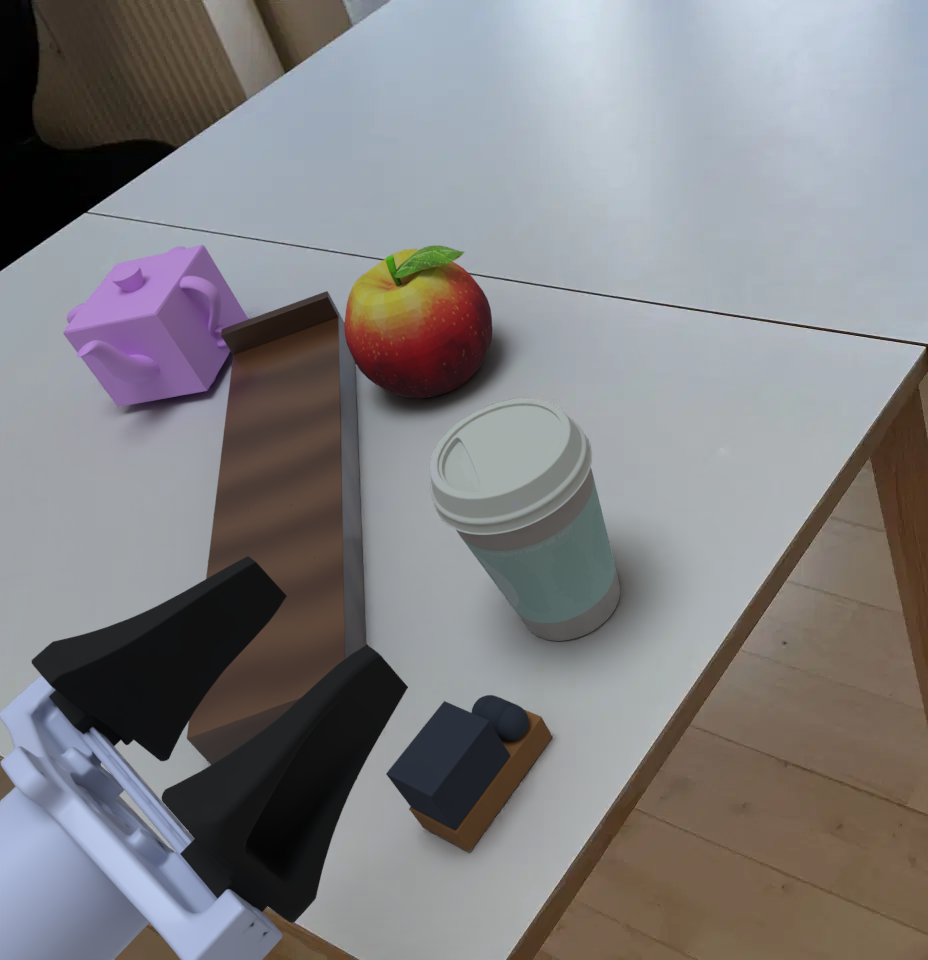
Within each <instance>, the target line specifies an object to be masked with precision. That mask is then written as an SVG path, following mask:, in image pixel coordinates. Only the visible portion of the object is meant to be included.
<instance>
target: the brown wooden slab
mask: <svg viewBox="0 0 928 960" xmlns="http://www.w3.org/2000/svg"><path fill="white" fill-rule="evenodd" d="M344 323H345V320H344V319H343V317H342V316H341V313H340V312H339V310H338V308H337V305H336V304H335V301H334V300H333V298H332V296H331V294H330V293H329V291H327V290H326V291H323V292H320V293H318V294H315V295H312V296H309V297H306V298H304V299H301V300H298V301H296V302H293V303H290V304H287V305H285V306H282V307H279V308H276V309H274V310H271V311H268V312H265V313H262V314H259V315H257V316H254V317H252V318H248V320H246V321H243V322H240V323H237V324H235V325H232V326H229V327H226V328H223V329H222V330H221V337H222V338H223V340H224V341H225V343H226V345H227V346H228V348H229V349H230V353H231V354H232V363H231V370H230V378H229V387H228V394H227V395H228V396H227V404H226V410H225V411H226V413H225V421H224V429H223V436H222V443H221V444H222V447H221V452H220V453H221V454H220V460H219V461H220V462H219V469H218V476H217V477H218V478H217V487H216V494H215V502H214V511H213V518H212V520H213V521H212V526H211V534H210V544H209V552H208V559H207V560H208V561H207V567H206V576H205V579H207V578H209V577H211V576H212V575H214V574H216V573H218V572H219V571H221V570H223V569H225V568H227V567H228V566H230V565H232V564H234V563H236V562H237V561H239V560H241V559H243V558H245V557H247V556H249V557H250V558H251V559H253V560H254V561H255V562H257V564H258V565H259V566H260V567H261V568H262V569H263V570H264V571H265V572H266V573H267V575H268V576H269V577H270V578H271V579H272V580H273V581H274V582H275V583H276V585H277V586H278V587H279V588H280V589H281V590H282V591H283V592H284V593H285V594H286V596H287V597H286V598H285V600H284V601H283V603H282V604H281V606H280V607H279V609H278V610H277V612H276V613H275V614H274V616H273V617H272V618H271V620H270V621H269V622H268V623H267V625H266V626H265V627H264V628H263V629H262V630H261V631H260V632H259V633H258V635H257V636H256V637H255V638H254V639H253V640H252V641H251V642H250V643H249V644H248V645H247V646H246V647H245V649H244V650H243V651H242V652H241V653H240V654H239V655H238V656H237V657H236V658H235V659H234V660H233V661H232V663H231V664H230V665H229V666H228V667H227V668H226V669H225V670H224V672H223V673H222V674H221V675H220V676H219V678H218V679H217V680H216V682H215V683H214V684H213V686H212V687H211V688H210V690H209V691H208V692H207V694H206V695H205V697H204V698H203V700H202V701H201V702H200V704H199V705H198V707H197V708H196V710H195V711H194V713H193V715H192V716H191V718H190V720H189V721H188V723H187V733H186V740H187V741H188V742H189V744H191V745H192V746H193V747H194V748H195V750H196V751H197V752H198V753H199V754H200V755H201V756H202V757H203V758H204V759H205V761H207V762H208V764H209V765H212V764H214V763H215V762H217V761H219V760H220V759H222V758H224V757H225V756H227V755H229V754H230V753H232V752H233V751H234V750H236V749H237V748H239V747H240V746H242V745H243V744H245V743H246V742H248V741H249V740H251V739H252V738H253V737H255V736H256V735H257V734H259V733H260V732H261V731H263V730H264V729H265V728H267V727H268V726H269V725H271V724H272V723H273V722H275V721H276V720H277V719H278V718H279V717H280V716H282V715H283V714H284V713H285V712H286V711H287V710H288V709H289V708H291V707H292V706H293V705H294V704H295V703H296V702H297V701H298V700H299V699H300V698H301V697H302V696H304V695H305V694H306V693H307V692H308V691H309V690H310V689H311V688H312V687H313V686H314V685H315V684H316V683H318V682H319V681H320V680H321V679H322V678H323V677H324V676H325V675H326V674H328V673H329V672H330V671H331V670H332V669H333V668H334V667H335V666H337V665H338V664H339V663H340V662H342V661H343V660H344V659H346V658H347V657H349V656H350V655H351V654H353V653H354V652H356V651H358V650H359V649H361V648H362V647H364V646H365V645H367V639H366V613H365V588H364V587H365V584H364V564H363V563H364V562H363V561H364V560H363V537H362V536H363V535H362V534H363V533H362V510H361V508H362V507H361V506H362V505H361V486H360V485H361V484H360V483H361V482H360V458H359V457H360V456H359V455H360V454H359V432H358V431H359V430H358V405H357V404H358V403H357V382H356V363H355V361H354V359H353V357H352V355H351V353H350V350H349V348H348V346H347V343H346V338H345V330H344Z"/></svg>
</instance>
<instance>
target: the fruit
mask: <svg viewBox="0 0 928 960" xmlns="http://www.w3.org/2000/svg"><path fill="white" fill-rule="evenodd" d="M464 253H465V251H463V250H458V249H455V248H451V247H448V246H445V245H427V246H424V247H422V248H420V249H419V248H406V249H402V250H399V251H397V252H395V253H392V254H390V255H388V256H386V257H385V258H384V259H383V260H382V261H380V262H378V263H377V264H376V265H374V266H373V267H372V268H370V269H369V270H367V271H366V272H365V273H363V274H362V275H361V276H360V277H358V278H357V280H356V281H355V282H354V283H353V285H352V287H351V289H350V292H349V294H348V297H347V301H346V308H345V316H344V330H345V338H346V343H347V346H348V348H349V350H350V353H351V355H352V357H353V359H354V361H355V366H357V367H358V369H359V370H360V372H361V373H362V374H363V376H364V377H366V378H367V379H368V380H369V381H370V382H372V383H373V384H375V385H377V386H378V387H379V388H381V389H383V390H385V391H386V392H388V393H391V394H393V395H395V396H396V395H397V396H401V397H406V398H412V399H425V398H434V397H437V396H441V395H444V394H447V393H450V392H452V391H453V390H456V389H458V388H459V387H461V386H462V385H464V384H465V383H466V382H468V381H469V380H470V379H471V378H472V377H473V376H474V374H475V373H476V372H477V371H478V370H479V369H480V367H481V366H482V365H483V363H484V361H485V359H486V356H487V354H488V352H489V350H490V347H491V343H492V339H493V316H492V309H491V306H490V305H491V304H490V302H489V299H488V297H487V296H486V294H485V292H484V290H483V289H482V288H481V286H480V285H479V284H478V283H477V281H476V279H474V277H473V276H472V275H471V274H470V272H468V271H467V270H466V269H465V268H464V267H462V266H461V265H459V264H457V263H456V262H454V261H456V260H458V259H459V258H461V256H463V255H464Z"/></svg>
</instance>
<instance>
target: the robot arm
mask: <svg viewBox="0 0 928 960" xmlns="http://www.w3.org/2000/svg"><path fill="white" fill-rule="evenodd" d="M286 597H287V596H286V594H285V593H284V592H283V591H282V590H281V589H280V588H279V587H278V586H277V585H276V583H275V582H274V581H273V580H272V579H271V578H270V577H269V576H268V575H267V573H266V572H265V571H264V570H263V569H262V568H261V567H260V566H259V565H258V564H257V562H255V561H254V560H253V559H251V558H250V557H249V556H247V557H245V558H243V559H241V560H239V561H237V562H236V563H234V564H232V565H230V566H228V567H227V568H225V569H223V570H221V571H219V572H218V573H216V574H214V575H212V576H211V577H209V578H207V579H206V578H205V579H203V580H202V581H200V582H198V583H197V584H195V585H193V586H191V587H190V588H187V589H186V590H185V591H183V592H181V593H179V594H177V595H175V596H172V598H169V599H167V600H166V601H164V602H162V603H160V604H158V605H156V606H154V607H152V608H150V609H147V610H145V611H143V612H141V613H138V614H136V615H134V616H132V617H129V618H127V619H125V620H121V621H119V622H116V623H113V624H111V625H109V626H105V627H102V628H100V629H97V630H92V631H90V632H87V633H83V634H79V635H76V636H75V635H74V636H72V637H67V638H62V639H58V640H53V641H52V642H50V643H49V644H48V645H47V646H45V648H44V649H42V650H41V651H39V652H38V654H37V655H35V656H34V657H33V658H32V659H31V664H32V666H33V667H34V668H35V670H36V671H37V672H38V673H39V674H40V676H39V677H38V678H36V679H35V680H34V681H33V682H31V684H30V685H28V687H26V688H25V689H24V690H23V691H22V692H21V693H20V694H19V695H18V696H17V695H16V697H15V698H14V699H13V700H12V701H10V702H9V703H8V704H7V705H6V706H5V707H4V708H3V709H2V710H0V721H1V722H2V724H3V726H4V727H5V729H6V730H7V732H8V734H9V736H10V739H11V742H12V745H13V749H12V750H11V751H10V752H9V753H8V754H7V755H6V756H4V758H3V759H1V760H0V766H1V768H2V770H3V771H4V772H5V774H6V775H7V776H8V778H9V779H10V781H11V782H12V784H13V785H14V787H13V788H12V790H10V791H9V792H8V793H7V794H6V795H5V796H4V797H3V798H1V799H0V960H115V959H116V958H117V957H118V956H119V955H120V954H121V953H122V952H123V951H124V950H125V949H126V948H127V947H128V946H129V945H130V944H131V943H132V942H133V941H134V940H135V938H136V937H137V936H138V935H140V933H142V931H143V930H144V929H145V928H146V927H147V926H148V925H149V924H150V925H151V926H152V928H153V929H154V930H155V931H156V932H157V933H158V934H159V935H160V936H161V937H162V939H163V940H164V941H165V942H166V943H167V945H168V946H169V947H170V948H171V949H172V951H173V952H174V953H175V954H176V956H177V957H178V958H179V960H264V958H266V956H267V955H268V954H269V953H270V952H271V951H272V950H273V948H274V947H275V946H276V945H278V943H279V942H280V941H281V940H282V938H283V937H284V934H283V933H282V932H281V931H280V929H279V928H278V927H277V926H276V925H275V924H274V923H273V921H272V920H271V919H270V918H269V916H267V915H266V914H265V913H264V911H265V910H266V909H267V908H268V909H270V910H272V911H273V912H275V914H277V915H278V916H279V917H281V918H283V919H284V920H285V921H287V923H288V922H289V923H290V924H295V923H296V922H297V920H298V919H299V918H300V917H301V916H302V915H303V914H304V913H305V911H307V909H309V907H310V906H311V905H312V904H313V903H314V902H315V900H316V899H317V895H318V892H319V891H318V890H319V886H320V881H321V878H322V873H323V869H324V866H325V863H326V859H327V855H328V852H329V850H330V847H331V842H332V839H333V837H334V834H335V831H336V828H337V826H338V823H339V820H340V818H341V814H342V813H343V810H344V807H345V805H346V803H347V800H348V799H349V796H350V793H352V790H353V787H354V785H355V783H356V782H357V779H358V777H359V775H360V773H361V771H362V770H363V767H364V766H365V763H366V762H367V761H368V760H367V759H368V758H369V756H370V754H371V752H372V750H373V749H374V747H375V745H376V743H377V742H378V740H379V738H380V736H381V735H382V733H383V731H384V729H385V728H386V726H387V724H388V722H389V721H390V719H391V717H392V716H393V715H394V712H395V711H396V709H397V707H398V705H399V704H400V703H401V701H402V699H403V697H404V695H405V694H406V691H407V690H408V689H409V686H408V685H407V684H406V683H405V681H404V680H403V679H402V678H401V677H400V676H399V674H397V672H396V671H395V670H394V669H393V668H392V667H391V666H390V664H389V663H388V662H387V661H386V660H385V659H384V657H383V656H382V655H381V654H380V653H379V652H378V651H376V650H375V649H373V647H371V646H370V645H368V644H366V645H365V646H364V647H362V648H361V649H359V650H358V651H356V652H354V653H353V654H351V655H350V656H349V657H347V658H346V659H344V660H343V661H342V662H340V663H339V664H338V665H337V666H335V667H334V668H333V669H332V670H331V671H330V672H329V673H328V674H326V675H325V676H324V677H323V678H322V679H321V680H320V681H319V682H318V683H316V684H315V685H314V686H313V687H312V688H311V689H310V690H309V691H308V692H307V693H306V694H305V695H304V696H302V697H301V698H300V699H299V700H298V701H297V702H296V703H295V704H294V705H293V706H292V707H291V708H289V709H288V710H287V711H286V712H285V713H284V714H283V715H282V716H280V717H279V718H278V719H277V720H276V721H275V722H273V723H272V724H271V725H269V726H268V727H267V728H265V729H264V730H263V731H261V732H260V733H259V734H257V735H256V736H255V737H253V738H252V739H251V740H249V741H248V742H246V743H245V744H243V745H242V746H240V747H239V748H237V749H236V750H234V751H233V752H232V753H230V754H229V755H227V756H225V757H224V758H222V759H220V760H219V761H217V762H215V763H214V764H212V765H211V764H209V766H207V767H206V768H203V769H202V770H200V771H198V772H197V773H195V774H193V775H190V776H189V777H186V778H185V779H183V780H181V781H179V782H177V783H176V784H174V785H171V786H169V787H167V788H165V789H164V790H163V792H162V795H161V798H159V796H158V795H157V794H156V793H155V792H154V791H153V789H152V788H151V787H150V786H149V785H148V783H147V782H146V781H145V780H144V779H143V777H141V776H140V774H139V773H138V772H137V771H136V770H135V769H134V767H133V766H132V765H131V764H130V763H129V762H128V760H127V759H126V758H125V757H124V756H123V755H122V754H121V752H120V751H119V750H118V749H117V747H116V746H117V744H119V743H120V741H121V742H122V743H123V744H124V745H125V746H129V745H130V744H131V743H132V742H133V741H135V742H136V743H137V744H138V745H140V746H141V747H142V748H143V749H144V750H146V751H147V752H148V753H149V754H151V755H152V756H153V757H154V758H156V759H157V760H158V761H160V762H167V761H168V760H170V758H171V756H172V754H173V752H174V750H175V747H176V745H177V744H178V741H179V739H180V737H181V735H182V733H183V732H184V730H185V728H186V726H188V724H189V720H190V718H191V716H192V715H193V713H194V711H195V710H196V708H197V707H198V705H199V704H200V702H201V701H202V700H203V698H204V697H205V695H206V694H207V692H208V691H209V690H210V688H211V687H212V686H213V684H214V683H215V682H216V680H217V679H218V678H219V676H220V675H221V674H222V673H223V672H224V670H225V669H226V668H227V667H228V666H229V665H230V664H231V663H232V661H233V660H234V659H235V658H236V657H237V656H238V655H239V654H240V653H241V652H242V651H243V650H244V649H245V647H246V646H247V645H248V644H249V643H250V642H251V641H252V640H253V639H254V638H255V637H256V636H257V635H258V633H259V632H260V631H261V630H262V629H263V628H264V627H265V626H266V625H267V623H268V622H269V621H270V620H271V618H272V617H273V616H274V614H275V613H276V612H277V610H278V609H279V607H280V606H281V604H282V603H283V601H284V600H285V598H286ZM102 765H103V766H104V767H105V768H104V767H103V766H102ZM124 791H125V793H126V794H127V795H128V796H129V797H130V798H131V800H132V801H133V802H134V803H135V805H136V806H137V807H138V808H139V809H140V811H141V812H142V813H143V814H144V815H145V817H146V818H147V819H148V820H149V822H150V823H151V824H153V827H154V828H155V829H156V830H157V831H158V832H159V833H160V835H161V836H162V837H163V838H164V839H165V841H166V842H167V843H168V844H169V846H170V847H169V846H168V844H167V843H166V842H165V841H164V840H163V839H162V838H161V837H160V836H159V835H158V834H157V832H155V831H154V830H153V829H152V828H151V827H150V826H149V824H147V822H146V821H145V820H144V819H142V817H141V816H140V815H139V814H138V813H137V812H136V811H135V810H134V809H133V807H131V806H130V805H129V804H128V803H127V802H126V801H125V800H124V799H123V797H122V796H120V795H121V794H122V793H123V792H124Z"/></svg>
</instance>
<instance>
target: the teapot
mask: <svg viewBox="0 0 928 960" xmlns="http://www.w3.org/2000/svg"><path fill="white" fill-rule="evenodd" d="M248 319H249V318H248V316H247V314H246V313H245V311H244V309H243V307H242V305H241V304H240V302H239V301H238V299H237V297H236V296H235V294H234V292H233V291H232V289H231V288H230V286H229V284H228V283H227V281H226V279H225V277H224V276H223V274H222V273H221V271H220V269H219V268H218V266H217V264H216V262H215V261H214V259H213V258H212V256H211V254H210V253H209V251H208V249H207V247H206V246H205V245H203V244H200V245H199V244H198V245H195V246H191V247H186V246H176V247H173V248H170V249H169V250H168V251H166V252H163V253H158V254H153V255H149V256H144V257H140V258H135V259H132V260H127V261H121V262H116V263H115V265H114V266H113V267H112V268H111V270H110V271H109V272H108V273H107V274H106V275H105V277H104V278H103V280H102V281H100V283H99V285H98V286H97V287H96V288H95V290H94V291H93V292H92V294H91V295H90V296H89V298H88V299H86V301H85V302H82V303H80V304H79V305H76V306H75V307H73V308H72V309H71V310H69V312H68V313H67V315H66V321H67V323H68V324H67V326H66V327H65V329H64V330H63V333H62V334H63V335H64V337H65V338H66V339H67V341H68V342H69V344H70V345H71V346H72V347H73V349H74V350H75V351H76V358H81V360H82V361H83V363H84V364H85V365H86V366H87V368H88V369H89V370H90V372H91V373H92V375H93V376H94V377H95V378H96V380H97V381H98V382H99V384H100V385H101V387H102V388H103V389H104V391H105V392H106V393H107V394H108V396H109V397H110V399H111V400H112V401H113V403H114V405H116V406H117V408H120V407H125V406H131V405H136V404H137V405H138V404H141V403H148V402H153V401H159V400H163V399H170V398H174V397H175V398H176V397H181V396H187V395H192V394H198V393H202V392H208V391H209V389H210V387H211V386H212V385H214V383H215V382H216V379H217V378H216V377H217V376H218V373H219V372H220V370H221V368H222V366H224V363H225V362H226V360H227V358H228V357H229V355H230V353H231V351H230V349H229V348H228V346H227V345H226V343H225V341H224V340H223V338H222V337H221V330H222V329H223V328H226V327H229V326H232V325H235V324H237V323H240V322H243V321H246V320H248Z"/></svg>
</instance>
